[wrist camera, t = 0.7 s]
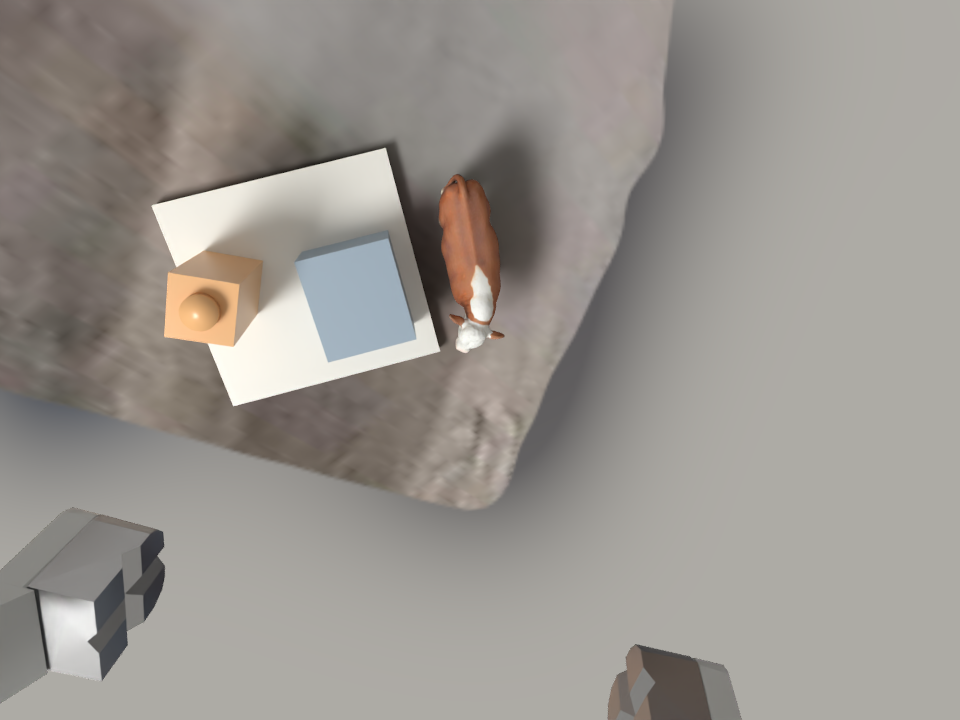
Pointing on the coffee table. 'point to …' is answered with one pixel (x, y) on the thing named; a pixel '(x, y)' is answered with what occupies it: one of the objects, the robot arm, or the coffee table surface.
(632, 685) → the robot arm
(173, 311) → the tall brick
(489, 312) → the bull figurine
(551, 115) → the coffee table surface
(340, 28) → the coffee table surface
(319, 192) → the baseplate
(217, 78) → the coffee table surface
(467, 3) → the coffee table surface
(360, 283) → the base block
